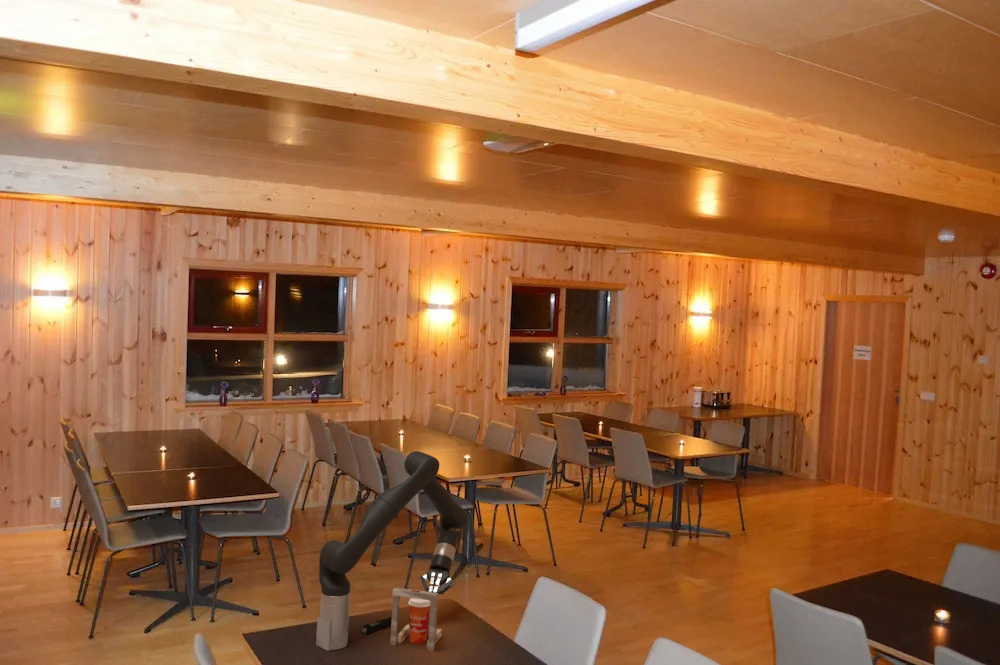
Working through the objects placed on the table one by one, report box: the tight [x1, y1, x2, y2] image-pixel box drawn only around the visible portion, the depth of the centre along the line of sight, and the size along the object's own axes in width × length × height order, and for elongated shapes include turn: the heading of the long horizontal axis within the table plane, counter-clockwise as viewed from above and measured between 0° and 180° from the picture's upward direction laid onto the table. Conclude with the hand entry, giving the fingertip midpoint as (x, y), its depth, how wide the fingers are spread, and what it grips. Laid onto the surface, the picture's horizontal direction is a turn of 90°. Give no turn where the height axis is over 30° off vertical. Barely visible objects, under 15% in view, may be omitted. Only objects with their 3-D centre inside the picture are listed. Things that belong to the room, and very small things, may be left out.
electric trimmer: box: [359, 616, 392, 636], centre depth 272 cm, size 4×16×3 cm, turn 140°
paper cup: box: [407, 598, 431, 645], centre depth 263 cm, size 8×8×14 cm
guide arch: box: [389, 587, 443, 652], centre depth 263 cm, size 13×15×19 cm
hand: (430, 603), depth 274 cm, fingers closed
